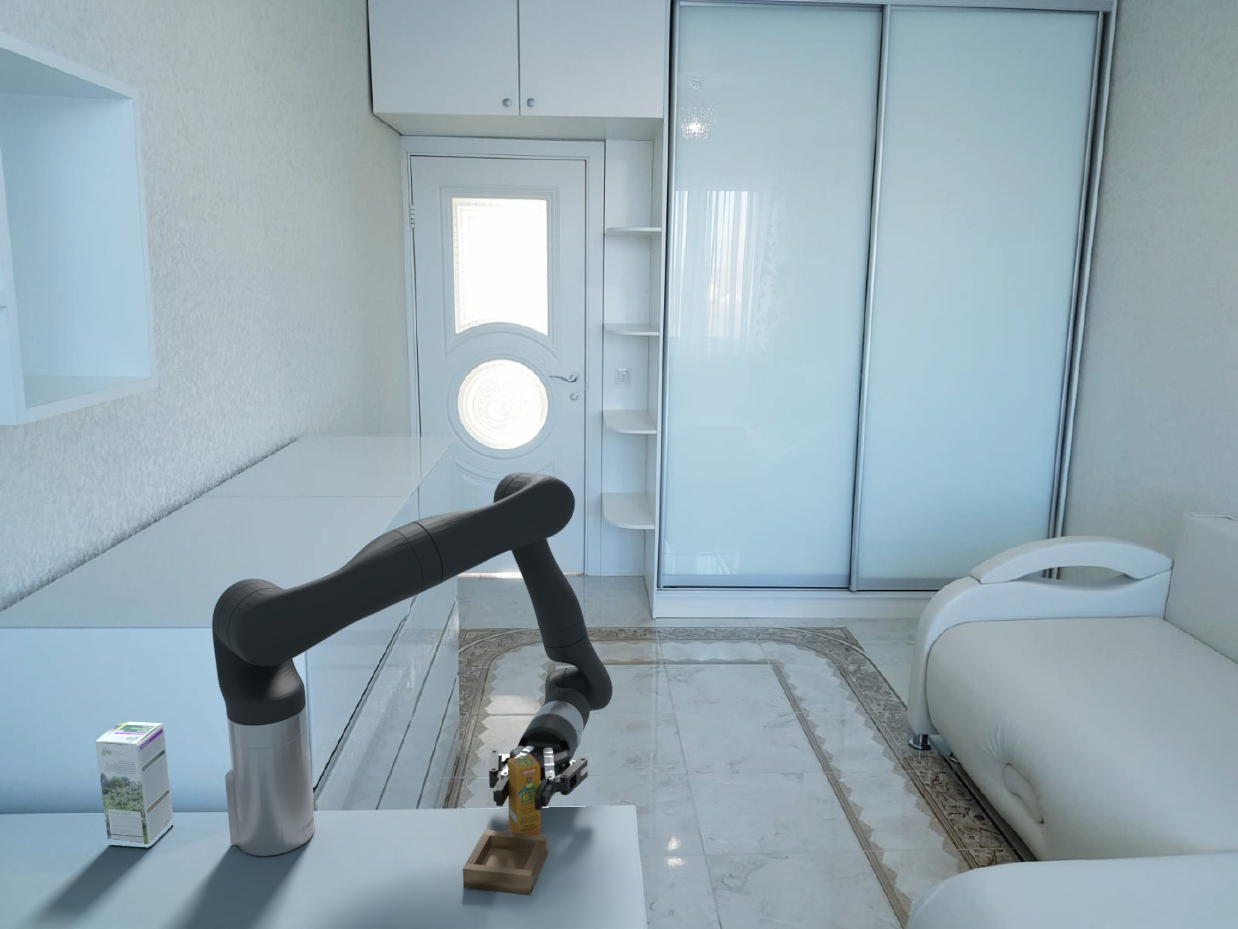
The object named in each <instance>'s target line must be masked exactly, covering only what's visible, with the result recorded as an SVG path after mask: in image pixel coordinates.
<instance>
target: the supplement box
mask: <svg viewBox="0 0 1238 929" xmlns="http://www.w3.org/2000/svg"><path fill="white" fill-rule="evenodd" d="M507 767H508V797H507V799H508V829H509V832H511V833H521V834H531V835H541V810H535V794H536V791H537V789H538V787H539V785H540V784H541V781H540V765H539V763H538V762H537V761H536V759H535V758H534V757H533V756H532V755H531V754H528V755H526V756H522V757H517V758H511V759H509V760H508V764H507Z"/></svg>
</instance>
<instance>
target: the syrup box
mask: <svg viewBox="0 0 1238 929" xmlns="http://www.w3.org/2000/svg"><path fill="white" fill-rule="evenodd" d="M164 728H165V727H164V723H162V722H161V723H160V722H141V721H121V722H119V723H117V724H116V725H114V726H112V727H111V728H110V729H109V730H107V731H105V733H104V734H102V735H100V736H99V738H98V739H96V740H95V750H96V757H97V758H96V759H97V763H98V773H99V780H100V789H101V796H102V804H103V805H102V806H103V813H104V820H105V827H106V836H107V837H106V838H107V840H108V839H112V840H121V841H123V840H124V841H130V842H136V843H137V842H138V843H144V844H149V843H150V842H151V841H152V840H154V838H155V837H156V836H157V835H158V834H160V832H161V831H162V830H163V829H164V828H165V827H166V826H167V825H168V823H169V822H170V821H171V819H172V818H173V817H174V810H173V805H172V804H173V803H172V795H171V794H172V793H171V786H170V777H169V776H170V775H169V768H168V757H167V756H168V754H167V747H166V738H165V729H164Z"/></svg>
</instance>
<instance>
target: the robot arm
mask: <svg viewBox="0 0 1238 929" xmlns="http://www.w3.org/2000/svg"><path fill="white" fill-rule="evenodd" d="M575 507H576V499H575V495H574V493H573V491H572V489H571V488H570V486H569V485H568V484H567V483H566V482H564V481H562V480H561V479H559V478H558V477H555V476H552V475H548V474H541V473H540V474H539V473H531V472H524V471H523V472H513V473H509V474H508V475H506V476H504V477H503V478H502V479H501V480H500V481H499V483H498V484H497V486H496V488H495V491H494V494H493V503H490V504H487V505H484V506H479V507H476V508H469V509H464V510H457V511H450V512H446V513H445V512H444V513H441V514H436V515H431V516H426V517H423V518H420V519H417V520H414V521H411V522H409V523H406V524H404V525H401V526H399V527H397V528H393V529H392V530H389V531H387V532H385V533H383V534H381V535H379V536H376V538H374V539H372V540H371V541H370V542H368V543H367V544H366V545H365V546H363V548H362V549H360V550H359V552H357V554H356V555H354V557H352V558H351V559H350V560H349V561H348V562H347V563H345V564H343V566H342V567H340V568H339V569H337V570H335V571H333V572H331V573H329V574H327V575H325V576H323V577H320V578H317V579H313V580H312V581H309V582H306V583H304V584H303V583H302V584H300V585H298V586H294V587H290V588H287V589H286V588H285V589H284V588H282V587H280V586H278V585H277V584H275V583H273V582H271V581H270V580H269V581H268V580H265V579H261V578H247V579H242V580H239V581H237V582H235V583H233V584H232V585H230V586H228V587H227V588H226V589H225V590H224V591H223V593H221V595H220V596H219V597H218V599H217V601H216V603H215V605H214V608H213V613H212V620H211V632H212V642H213V643H212V644H213V651H214V658H215V667H216V674H217V682H218V687H219V691H220V692H221V695H222V697H223V700H224V703H225V709H226V719H227V720H226V722H227V729H228V730H227V731H228V742H229V750H230V751H229V753H230V765H231V769H229V771H227V772H226V773H225V775H224V783H225V784H224V785H225V792H226V793H225V795H226V803H227V804H226V806H227V815H228V825H229V826H228V827H229V828H228V829H229V836H230V837H229V838H230V839H229V840H230V845H231V844H232V845H231V846H236V845H237V847H238V848H240V850H242V851H243V852H244V853H246V854H249V855H253V856H259V857H265V856H266V857H267V856H274V855H280V854H281V855H282V854H284V853H287V852H290V851H292V850H295V849H297V848H299V847H301V846H303V845H304V844H305V843H307V842H308V841H309V840H310V839H311V838H312V837H313V835H314V832H315V828H316V827H315V813H314V811H315V810H314V797H313V796H314V795H313V794H314V793H313V781H312V780H313V779H312V769H311V767H312V766H311V753H310V742H309V741H310V740H309V725H308V713H307V711H308V710H307V701H306V700H307V698H306V688H305V684H304V681H303V679H302V677H301V676H300V673H299V671H298V670H297V668H296V665H295V663H294V660H293V659H294V658H296V657H298V656H300V655H301V654H303V653H305V652H307V651H308V650H309V649H312V648H313V647H315V646H316V645H318V644H321V642H323V641H325V640H326V639H328V638H330V637H331V636H333V635H335V634H337V633H338V632H340V631H342V630H343V629H345V628H347V627H349V626H350V625H351V626H352V625H353V624H355V623H356V622H358V621H361V620H364V619H366V618H368V617H369V616H373V615H374V614H377V613H379V612H381V611H383V610H385V609H388V608H390V607H392V606H393V605H396V604H398V603H401V602H403V601H405V600H408V599H410V598H412V597H415V596H417V595H419V594H422V593H423V592H425V591H427V590H429V589H432V588H435V587H437V586H438V585H440V584H443V583H444V582H446V581H448V580H450V579H452V578H454V577H456V576H458V575H461V574H463V573H465V572H467V571H469V570H471V569H473V568H475V567H477V566H480V565H481V564H484V563H485V562H488V561H490V560H492V559H493V558H495V557H497V556H499V555H502V554H504V553H506V552H509V551H511V553H512V555H513V558H514V560H515V562H516V565H517V567H518V570H519V573H520V574H521V577H522V579H523V581H524V584H525V588H526V589H527V592H528V594H529V598H530V601H531V604H532V607H533V611H534V614H535V616H536V617H535V618H536V622H537V626H538V629H539V633H540V636H541V640H542V641H541V642H542V644H543V647H544V651H545V654H546V656H547V657H548V659H550V660H551V661H553V662H555V663H561V664H568V665H571V667H570V666H569V667H561V668H557V669H555V670H553V671H551V672H550V673H549V674H548V675H547V676H546V679H545V683H544V693H545V694H544V695H545V696H544V702H543V704H542V705H541V707H540V708H539V710H538V711H537V712H536V713H535V715H534V716H533V717H532V719H531V720H530V722H529V724H528V726H526V729H525V731H524V732H523V734H522V736H521V737H520V739H519V742H518V744H517V746H516V748H514V749H512V750H510V752H509V753H504V754H503V753H500V751H499V749H497V748H494V749H490V750H489V760H488V761H489V762H488V763H489V764H488V778H489V780H488V781H489V782H488V783H489V788H490V789H492V794H493V797H492V798H493V802H494V803H495V806H496V807H503V806H504V805H505V803H506V801H507V799H508V766H506V765H508V760H509V759H511V758H517V757H522V756H526V755H528V754H531V755H532V756H533V757H534V758H535V759H536V761H537V762H538V763H539V765H540V785H539V787H538V789H537V791H536V794H535V810H540V811H542V809H543V808H544V807H547V806H549V804H550V802H551V799H552V798H553V796H554V797H555V795H556V793H560V795H562V796H569V795H570V794H571V793H572V792H573V791H574V790H575V789H577V787H578V786H579V785H581V784H582V782H583V781H584V780H586V779H587V778H588V777H589V772H588V771H589V764H588V763H589V760H588V757H586V756H580V757H579V758H577V759H576V760H575V759H573V758H574V755H575V754H576V751H577V749H578V748H579V746H580V743H581V740H582V735H583V732H584V730H585V727H586V725H587V724H588V720H589V718H590V714H591V713H590V712H594V711H599V710H602V709H605V708H606V707H607V706H608V705H609V704H610V701H611V700H612V697H613V683H612V680H611V677H610V674H609V672H608V670H607V669H606V667H605V665H604V664H603V662H602V660H601V659H600V657H599V655H598V654H597V652H596V651H595V650H596V649H595V647H594V646H593V644H592V642H591V639H590V637H589V635H588V630H587V626H586V621H585V619H584V615H583V614H584V613H583V610H582V607H581V604H580V601H579V599H578V596H577V595H576V593H575V591H574V589H573V587H572V585H571V583H570V582H569V581H568V578H567V577H566V576H565V574H564V572H563V571H562V570H561V567H560V565H559V563H558V562H557V560H556V559H555V556H554V554H553V551H552V549H551V548H550V544H549V542H548V538H551V537H553V536H556V535H557V534H558V533H560V532H561V531H562V530H564V529H565V528H566V526H567V525H568V524H569V522H570V521H571V520H572V517H573V515H574V512H575ZM503 768H504V769H503Z"/></svg>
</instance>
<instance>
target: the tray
mask: <svg viewBox="0 0 1238 929" xmlns="http://www.w3.org/2000/svg"><path fill="white" fill-rule="evenodd" d="M548 837H549V836H547V835H541V834H540V835H531V834H521V833H511V831H501V830H490V829H489V830H488V829H484V831H483V832H482V834H481V836H480V838H479V839H478V841H477V843H476V845H475V846H474V848H473V849H472V852H471V853H470V854H469V857H468V859H467V860H466V863H465V864H464V866H463V868H462V880H463V881H462V883H463V885H462V886H463V888H464V889H469V890H479V891H489V892H494V893H495V892H496V893H505V894H514V895H523V896H531V895H532V893H533V890H534V887H535V885H536V883H537V882H538V879H539V876H540V874H541V872H542V869H543V867H544V864H545V862H546V861H547V858H548V856H549V840H548V839H549V838H548ZM547 855H548V856H547Z"/></svg>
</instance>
